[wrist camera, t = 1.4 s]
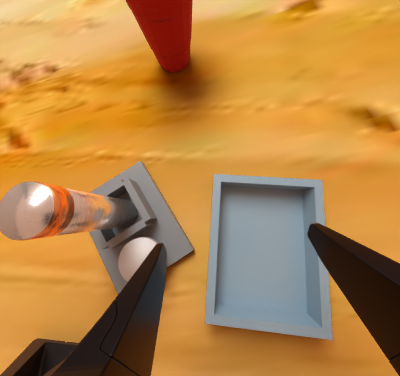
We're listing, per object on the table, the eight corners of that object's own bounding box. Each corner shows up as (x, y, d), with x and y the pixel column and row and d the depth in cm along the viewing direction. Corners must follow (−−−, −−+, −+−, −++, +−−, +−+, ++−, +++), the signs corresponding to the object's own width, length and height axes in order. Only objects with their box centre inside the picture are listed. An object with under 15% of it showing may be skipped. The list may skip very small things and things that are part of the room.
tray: (311, 319, 20) (332, 340, 17) (205, 306, 21) (204, 323, 18) (305, 185, 24) (322, 180, 20) (213, 179, 25) (214, 174, 21)
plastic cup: (202, 33, 30) (198, -85, 18) (203, 81, 28) (199, -17, 16) (148, 38, 31) (109, -73, 19) (145, 85, 29) (100, -7, 17)
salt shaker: (127, 232, 23) (24, 253, 10) (106, 217, 24) (-16, 219, 11) (143, 209, 23) (63, 200, 11) (122, 195, 24) (23, 170, 11)
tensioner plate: (194, 248, 23) (191, 254, 19) (124, 294, 22) (107, 309, 19) (143, 163, 26) (132, 154, 22) (80, 202, 25) (59, 199, 22)
